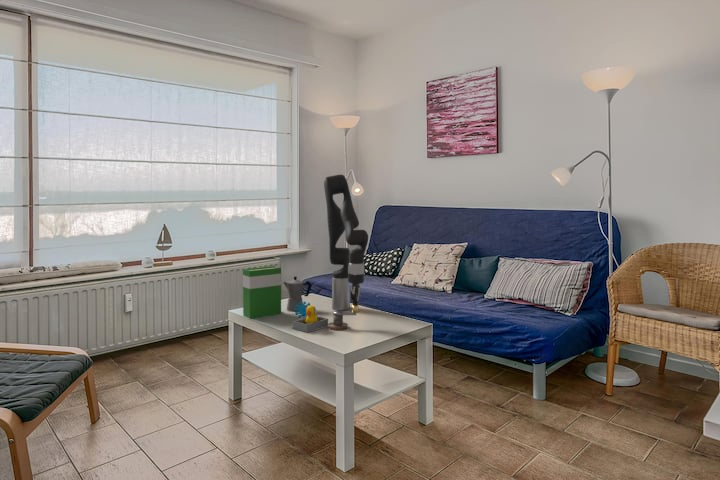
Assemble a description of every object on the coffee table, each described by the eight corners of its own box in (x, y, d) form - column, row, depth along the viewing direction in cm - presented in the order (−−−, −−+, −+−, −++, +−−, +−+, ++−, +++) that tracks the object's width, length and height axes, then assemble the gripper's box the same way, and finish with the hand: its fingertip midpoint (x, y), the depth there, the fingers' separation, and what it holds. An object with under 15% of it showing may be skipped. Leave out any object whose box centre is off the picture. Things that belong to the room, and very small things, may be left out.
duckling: (314, 330, 218) (314, 308, 217) (302, 329, 219) (302, 307, 218) (319, 323, 229) (319, 302, 228) (308, 322, 230) (308, 302, 229)
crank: (333, 315, 222) (333, 306, 221) (333, 313, 226) (333, 304, 226) (358, 316, 222) (358, 306, 221) (358, 313, 226) (358, 304, 226)
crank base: (337, 323, 231) (337, 311, 230) (351, 327, 225) (351, 314, 225) (324, 327, 224) (324, 315, 223) (339, 331, 218) (339, 318, 218)
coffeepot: (281, 311, 253) (281, 277, 252) (284, 307, 263) (284, 274, 261) (310, 312, 253) (310, 278, 251) (312, 307, 262) (313, 275, 260)
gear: (294, 316, 236) (295, 299, 243) (292, 322, 241) (293, 305, 247) (316, 319, 239) (316, 301, 245) (314, 324, 243) (314, 308, 250)
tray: (313, 322, 233) (313, 315, 232) (328, 325, 227) (328, 318, 227) (292, 328, 222) (292, 321, 221) (307, 332, 216) (307, 324, 216)
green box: (274, 310, 255) (273, 265, 253) (281, 313, 249) (281, 267, 247) (243, 315, 244) (242, 269, 241) (250, 318, 238) (249, 270, 236)
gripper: (351, 269, 232) (350, 304, 234) (345, 274, 219) (344, 311, 221) (366, 270, 231) (365, 305, 233) (361, 275, 218) (360, 312, 220)
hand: (355, 308), depth 227 cm, fingers closed
